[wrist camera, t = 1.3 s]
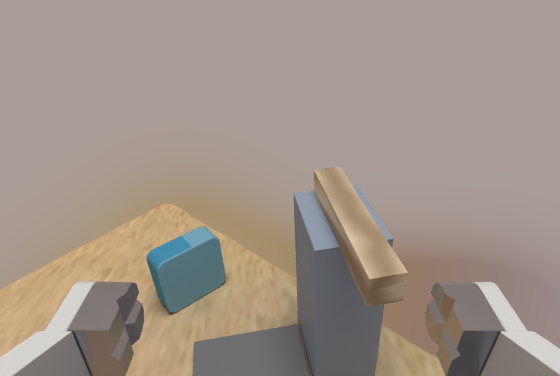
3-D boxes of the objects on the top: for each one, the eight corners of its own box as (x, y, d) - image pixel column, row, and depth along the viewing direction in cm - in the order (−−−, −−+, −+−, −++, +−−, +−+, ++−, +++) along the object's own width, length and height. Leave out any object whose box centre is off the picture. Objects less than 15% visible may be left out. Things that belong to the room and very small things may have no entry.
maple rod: (366, 306, 35) (369, 279, 33) (314, 192, 52) (314, 170, 50) (403, 300, 35) (407, 272, 33) (339, 189, 52) (340, 166, 50)
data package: (214, 270, 77) (205, 223, 71) (227, 282, 74) (218, 234, 68) (159, 302, 71) (144, 252, 64) (170, 316, 68) (155, 266, 61)
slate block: (315, 387, 55) (314, 250, 42) (298, 320, 65) (293, 193, 52) (374, 375, 56) (393, 238, 43) (348, 312, 66) (357, 184, 53)
